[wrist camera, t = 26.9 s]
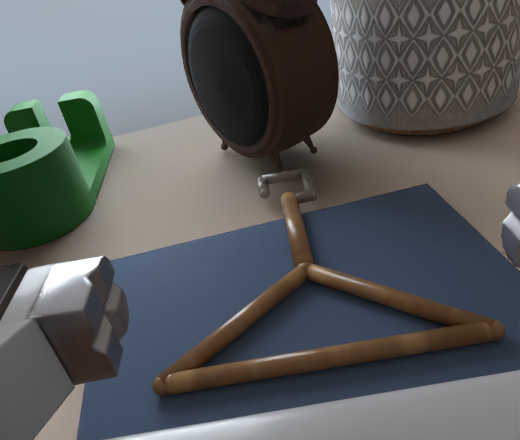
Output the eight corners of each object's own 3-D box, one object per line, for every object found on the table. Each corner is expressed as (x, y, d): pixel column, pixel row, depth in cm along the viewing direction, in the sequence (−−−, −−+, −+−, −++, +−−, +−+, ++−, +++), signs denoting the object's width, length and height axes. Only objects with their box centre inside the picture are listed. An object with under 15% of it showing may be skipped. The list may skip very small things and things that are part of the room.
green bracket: (83, 236, 37) (50, 164, 34) (-30, 259, 37) (-75, 189, 34) (114, 144, 52) (94, 87, 49) (34, 160, 52) (7, 105, 49)
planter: (419, 69, 56) (422, -52, 49) (555, 99, 44) (584, -58, 37) (307, 114, 50) (292, -17, 44) (427, 163, 38) (433, -10, 31)
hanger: (511, 327, 22) (388, 148, 37) (147, 387, 22) (176, 186, 38) (507, 345, 22) (388, 162, 38) (155, 403, 23) (180, 199, 39)
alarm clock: (192, 152, 47) (130, -84, 36) (250, 126, 50) (209, -98, 39) (288, 199, 37) (242, -111, 26) (353, 162, 40) (336, -127, 29)
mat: (725, 476, 17) (729, 470, 17) (45, 682, 15) (40, 679, 15) (427, 187, 35) (427, 183, 35) (104, 266, 33) (103, 262, 33)
